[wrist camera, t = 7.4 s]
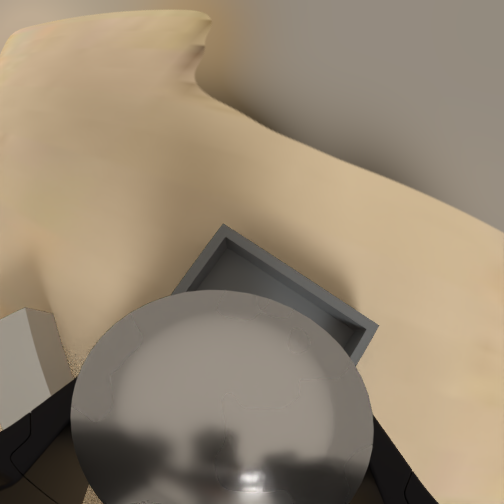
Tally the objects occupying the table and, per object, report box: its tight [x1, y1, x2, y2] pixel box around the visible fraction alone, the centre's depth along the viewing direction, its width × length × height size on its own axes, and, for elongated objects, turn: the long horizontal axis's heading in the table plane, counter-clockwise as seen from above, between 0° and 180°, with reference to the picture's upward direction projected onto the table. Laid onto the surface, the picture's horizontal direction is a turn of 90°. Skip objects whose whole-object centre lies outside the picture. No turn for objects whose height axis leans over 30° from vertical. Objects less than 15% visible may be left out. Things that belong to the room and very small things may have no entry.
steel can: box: [71, 290, 374, 504], centre depth 12 cm, size 7×7×13 cm
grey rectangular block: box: [0, 307, 74, 430], centre depth 17 cm, size 6×9×4 cm, turn 24°
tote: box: [171, 224, 379, 367], centre depth 18 cm, size 14×11×3 cm
